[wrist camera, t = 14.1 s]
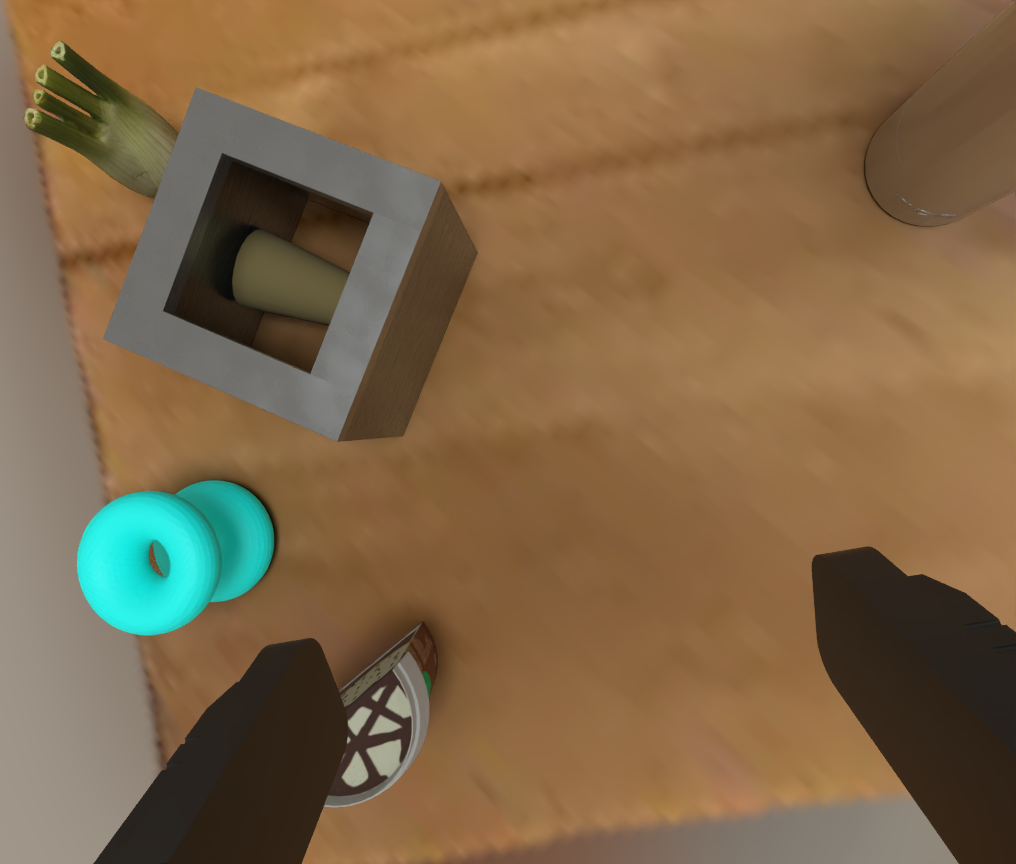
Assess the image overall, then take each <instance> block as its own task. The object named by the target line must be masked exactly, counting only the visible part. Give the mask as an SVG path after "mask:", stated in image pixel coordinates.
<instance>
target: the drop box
mask: <svg viewBox="0 0 1016 864" xmlns="http://www.w3.org/2000/svg"><path fill="white" fill-rule="evenodd" d="M307 199H310V200H312V201H315V202H317V203H320V204H322V205H325V206H327V207H330V208H332V209H335V210H337V211H340V212H342V213H345V214H347V215H350V216H353V217H355V218H358V219H360V220H363V221H365V222H368V223H370V224H369V226H368V229H367V231H366V234H365V236H364V239H363V241H362V244H361V246H360V249H359V252H358V254H357V257H356V259H355V262H354V264H353V267H352V269H351V272H350V274H349V277H348V279H347V282H346V285H345V287H344V290H343V292H342V295H341V297H340V300H339V302H338V305H337V307H336V310H335V313H334V315H333V318H332V320H331V323H330V325H329V328H328V330H327V333H326V335H325V338H324V340H323V343H322V346H321V348H320V351H319V353H318V356H317V358H316V361H315V363H314V366H313V368H312V371H311V373H310V372H308V371H306V370H303V369H301V368H299V367H296V366H294V365H292V364H289V363H287V362H285V361H282V360H280V359H278V358H275V357H273V356H271V355H268V354H266V353H264V352H261V351H259V350H257V349H254V348H252V347H251V344H252V342H253V339H254V336H255V334H256V331H257V329H258V326H259V323H260V321H261V318H262V316H263V313H264V311H261V310H256V309H252V308H247V307H242V306H241V305H239V304H238V303H237V302H236V299H235V297H234V294H233V286H232V279H233V269H234V265H235V261H236V257H237V255H238V253H239V250H240V248H241V246H242V244H243V243H244V241H245V240H246V238H247V237H248V236H249V235H250V234H251V233H252V232H254V231H255V230H258V229H263V230H266V231H268V232H270V233H272V234H274V235H276V236H278V237H280V238H282V239H284V240H286V241H288V242H290V243H291V240H292V238H293V235H294V233H295V230H296V227H297V225H298V222H299V220H300V217H301V215H302V212H303V209H304V207H305V204H306V202H307ZM476 255H477V251H476V249H475V247H474V245H473V243H472V241H471V239H470V237H469V235H468V233H467V231H466V229H465V227H464V225H463V223H462V221H461V219H460V218H459V216H458V214H457V212H456V210H455V208H454V206H453V204H452V202H451V200H450V198H449V196H448V194H447V192H446V190H445V188H444V186H443V184H442V183H441V181H439V180H436V179H433V178H431V177H428V176H426V175H423V174H420V173H418V172H415V171H412V170H410V169H407V168H405V167H402V166H399V165H397V164H394V163H392V162H389V161H386V160H384V159H381V158H379V157H376V156H373V155H371V154H368V153H366V152H363V151H360V150H358V149H355V148H353V147H350V146H347V145H345V144H342V143H340V142H337V141H334V140H332V139H329V138H327V137H324V136H321V135H319V134H316V133H314V132H311V131H308V130H306V129H303V128H301V127H298V126H295V125H293V124H290V123H288V122H285V121H282V120H280V119H277V118H275V117H272V116H269V115H267V114H264V113H262V112H259V111H256V110H254V109H251V108H249V107H246V106H243V105H241V104H238V103H236V102H233V101H230V100H228V99H225V98H223V97H220V96H217V95H215V94H212V93H210V92H207V91H204V90H202V89H199V88H197V87H196V88H195V91H194V94H193V96H192V99H191V102H190V105H189V107H188V110H187V113H186V115H185V118H184V121H183V124H182V126H181V129H180V132H179V134H178V137H177V140H176V143H175V145H174V148H173V151H172V153H171V156H170V159H169V162H168V164H167V167H166V170H165V172H164V175H163V178H162V180H161V183H160V186H159V189H158V191H157V194H156V197H155V199H154V202H153V205H152V208H151V210H150V213H149V216H148V218H147V221H146V224H145V227H144V229H143V232H142V235H141V237H140V240H139V243H138V246H137V248H136V251H135V254H134V256H133V259H132V262H131V265H130V267H129V270H128V273H127V275H126V278H125V281H124V284H123V286H122V289H121V292H120V294H119V297H118V300H117V302H116V305H115V308H114V311H113V313H112V316H111V319H110V321H109V324H108V327H107V330H106V332H105V335H104V338H103V339H104V340H107V341H109V342H111V343H113V344H116V345H118V346H120V347H123V348H125V349H127V350H129V351H132V352H134V353H136V354H138V355H141V356H143V357H145V358H148V359H150V360H152V361H154V362H157V363H159V364H161V365H164V366H166V367H168V368H170V369H173V370H175V371H177V372H179V373H182V374H184V375H186V376H189V377H191V378H193V379H195V380H198V381H200V382H202V383H205V384H207V385H209V386H211V387H214V388H216V389H218V390H220V391H223V392H225V393H227V394H230V395H232V396H234V397H236V398H239V399H241V400H243V401H246V402H248V403H250V404H252V405H255V406H257V407H259V408H261V409H264V410H266V411H268V412H271V413H273V414H275V415H277V416H280V417H282V418H284V419H287V420H289V421H291V422H293V423H296V424H298V425H300V426H302V427H305V428H307V429H309V430H312V431H314V432H316V433H318V434H321V435H323V436H325V437H328V438H330V439H332V440H334V441H337V442H339V441H351V440H362V439H374V438H386V437H398V436H403V434H404V432H405V430H406V427H407V425H408V422H409V420H410V417H411V415H412V412H413V410H414V407H415V405H416V402H417V400H418V398H419V395H420V393H421V390H422V388H423V385H424V383H425V380H426V378H427V375H428V373H429V371H430V368H431V366H432V363H433V361H434V358H435V356H436V353H437V351H438V348H439V346H440V343H441V341H442V339H443V336H444V334H445V331H446V329H447V326H448V324H449V321H450V319H451V316H452V314H453V311H454V309H455V307H456V304H457V302H458V299H459V297H460V294H461V292H462V289H463V287H464V284H465V282H466V279H467V277H468V275H469V272H470V270H471V267H472V265H473V262H474V260H475V257H476Z"/></svg>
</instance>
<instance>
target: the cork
mask: <svg viewBox="0 0 1016 864" xmlns="http://www.w3.org/2000/svg"><path fill="white" fill-rule="evenodd" d="M349 274H350V273H349V272H347V271H345V270H343V269H341V268H339V267H337V266H335V265H333V264H331V263H329V262H327V261H325V260H323V259H321V258H319V257H317V256H315V255H313V254H311V253H309V252H307V251H305V250H303V249H301V248H299V247H297V246H295V245H294V244H292V243H290V242H288V241H286V240H284V239H282V238H280V237H278V236H276V235H274V234H272V233H270V232H268V231H266V230H263V229H258V230H255V231H254V232H252V233H251V234H250V235H249V236H248V237H247V238H246V240H245V241H244V243H243V244H242V246H241V248H240V250H239V253H238V255H237V257H236V261H235V265H234V269H233V279H232V286H233V294H234V297H235V299H236V302H237V303H238V304H239V305H241V306H242V307H247V308H252V309H256V310H261V311H266V312H270V313H275V314H280V315H284V316H289V317H294V318H298V319H303V320H308V321H312V322H317V323H322V324H326V325H330V323H331V320H332V318H333V315H334V313H335V310H336V307H337V305H338V302H339V300H340V297H341V295H342V292H343V290H344V287H345V285H346V282H347V279H348V277H349Z"/></svg>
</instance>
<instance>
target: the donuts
mask: <svg viewBox="0 0 1016 864" xmlns="http://www.w3.org/2000/svg"><path fill="white" fill-rule="evenodd" d="M152 543H153V549H154V555H155V559H156V562H157V565H158V567H159V569H160V571H161V573H162V574H163V576H164V577H162V576H160V575H159V574H157V573H156V572H155V571H154V570H153V568H152V567H151V564H150V562H149V549H150V546H151V544H152ZM273 550H274V531H273V526H272V522H271V519H270V517H269V515H268V513H267V511H266V509H265V508H264V506H263V505H262V503H261V502H260V501H259V500H258V499H257V498H256V497H255V496H254V495H253V494H252V493H251V492H249V491H248V490H246V489H245V488H243V487H241V486H239V485H237V484H234V483H231V482H226V481H220V480H209V481H202V482H198V483H195V484H192V485H190V486H188V487H186V488H184V489H182V490H180V491H179V492H178V493H176V494H175V495H173V494H170V493H166V492H160V491H141V492H135V493H131V494H127V495H124V496H122V497H120V498H118V499H116V500H114V501H112V502H110V503H109V504H107V505H106V506H105V507H103V508H102V509H101V510H100V511H99V512H98V513H97V514H96V515H95V517H94V518H93V519H92V520H91V522H90V523H89V524H88V526H87V527H86V529H85V532H84V534H83V536H82V538H81V541H80V545H79V549H78V556H77V570H78V577H79V583H80V585H81V589H82V591H83V593H84V595H85V598H86V599H87V601H88V602H89V604H90V606H91V607H92V608H93V610H94V611H95V612H96V613H97V614H98V615H99V616H100V617H101V618H102V619H103V620H105V621H106V622H107V623H109V624H110V625H112V626H114V627H115V628H118V629H120V630H122V631H125V632H128V633H132V634H138V635H157V634H163V633H167V632H171V631H174V630H176V629H178V628H180V627H182V626H184V625H186V624H187V623H189V622H190V621H192V620H193V619H194V618H195V617H197V616H198V615H199V614H200V613H201V612H202V611H203V610H204V609H205V607H206V606H207V605H208V603H209V602H220V601H226V600H230V599H233V598H236V597H238V596H240V595H242V594H244V593H246V592H247V591H249V590H250V589H251V588H253V587H254V586H255V585H256V584H257V583H258V582H259V581H260V579H261V578H262V577H263V575H264V574H265V572H266V571H267V569H268V567H269V565H270V562H271V559H272V555H273Z"/></svg>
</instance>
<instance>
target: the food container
mask: <svg viewBox="0 0 1016 864" xmlns="http://www.w3.org/2000/svg"><path fill="white" fill-rule="evenodd" d="M437 666H438V663H437V651H436V647H435V643H434V640H433V638H432V636H431V634H430V632H429V630H428V628H427V627H426V626H425V624H424V623H423V622H422V623H421V624H419V625H418V626H417V627H416V628H414V629H413V630H412V631H411V632H410V633H408V634H407V635H406V636H405V637H404V638H402V639H401V640H400V641H399V642H397V643H396V644H395V645H394V646H393V647H391V648H390V649H389V650H388V651H386V652H385V653H384V654H383V655H382V656H380V657H379V658H378V659H377V660H375V661H374V662H373V663H372V664H371V665H369V666H368V667H367V668H366V669H365V670H363V671H362V672H361V673H360V674H358V675H357V676H356V677H355V678H354V679H352V680H351V681H350V682H349V683H347V684H346V685H345V686H344V687H343V688H341V689H340V690H339V693H340V696H341V699H342V701H343V704H344V706H345V709H346V713H347V718H348V739H347V745H346V749H345V752H344V755H343V758H342V760H341V763H340V765H339V768H338V771H337V773H336V776H335V778H334V781H333V784H332V786H331V789H330V791H329V794H328V796H327V799H326V802H325V804H324V806H325V807H345V806H351V805H355V804H359V803H362V802H364V801H366V800H369V799H371V798H373V797H375V796H377V795H379V794H380V793H382V792H383V791H385V790H386V789H388V788H389V787H390V786H391V785H392V784H394V783H395V782H396V781H397V780H398V779H399V778H400V777H401V776H402V775H403V773H404V772H405V771H406V770H407V769H408V768H409V767H410V765H411V764H412V763H413V761H414V760H415V759H416V757H417V755H418V754H419V752H420V750H421V748H422V746H423V743H424V740H425V737H426V734H427V730H428V723H429V696H430V693H431V690H432V687H433V684H434V680H435V677H436V673H437Z"/></svg>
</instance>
